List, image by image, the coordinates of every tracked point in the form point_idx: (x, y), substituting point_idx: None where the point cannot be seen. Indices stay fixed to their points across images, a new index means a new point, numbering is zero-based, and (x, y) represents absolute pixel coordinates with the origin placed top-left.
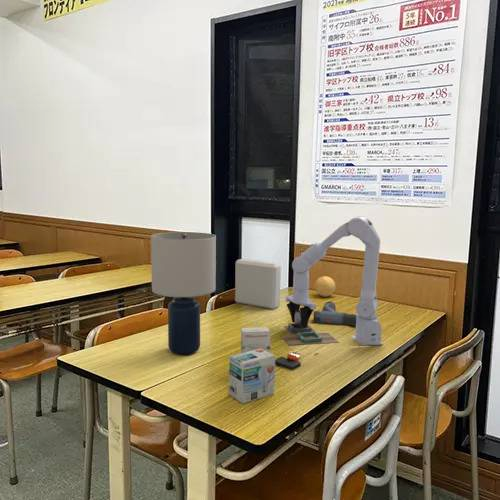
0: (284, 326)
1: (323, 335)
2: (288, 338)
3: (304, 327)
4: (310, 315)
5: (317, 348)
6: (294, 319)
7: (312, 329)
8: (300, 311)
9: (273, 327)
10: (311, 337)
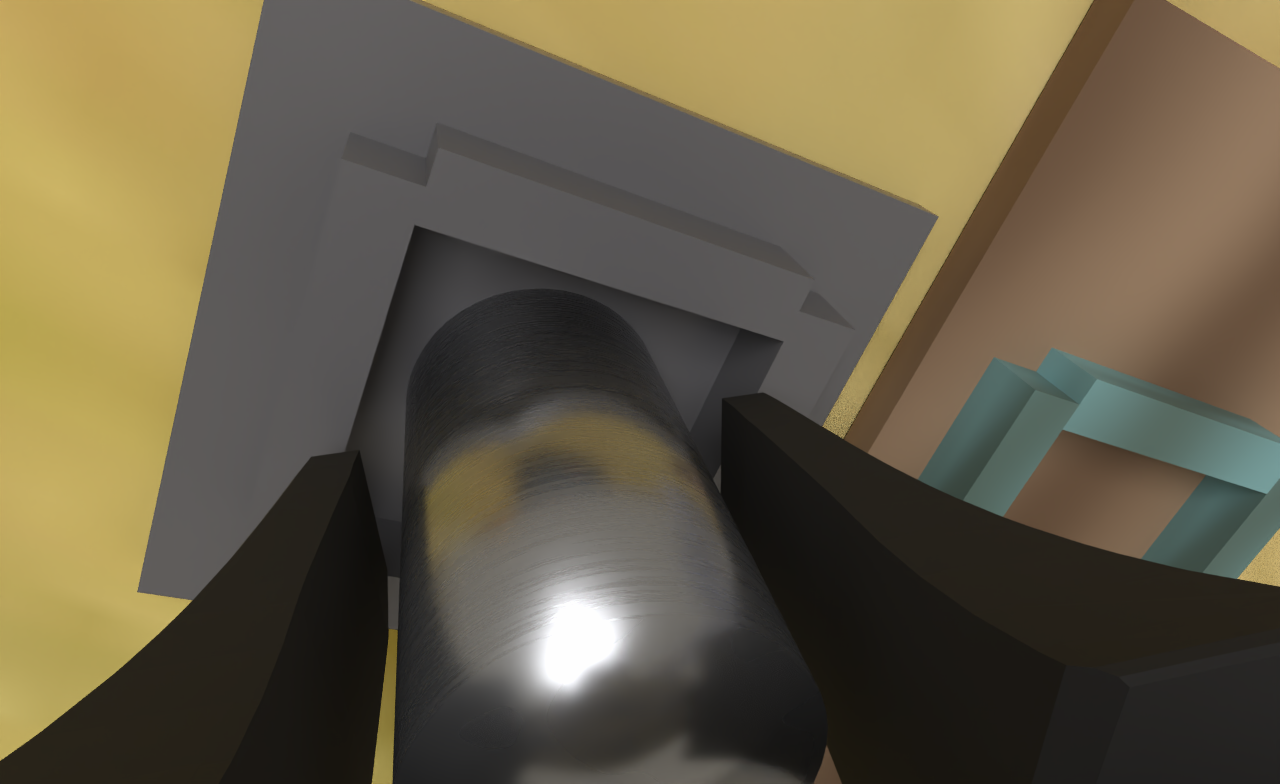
0: (181, 577)
1: (1151, 225)
2: (826, 775)
3: (664, 384)
4: (983, 517)
5: (1259, 568)
6: (376, 597)
7: (705, 136)
8: (641, 781)
9: (62, 709)
10: (1040, 482)
